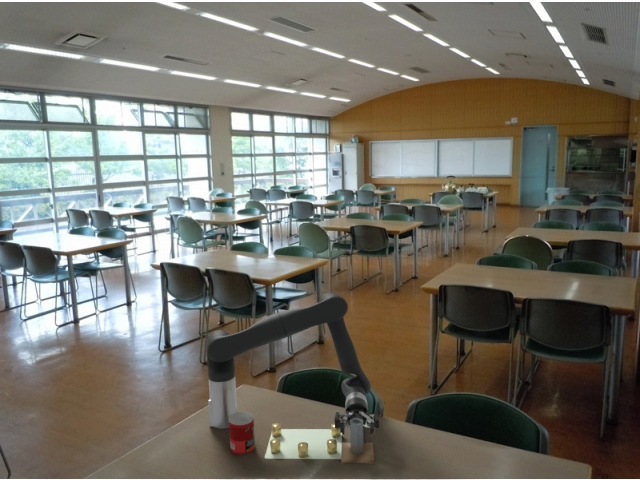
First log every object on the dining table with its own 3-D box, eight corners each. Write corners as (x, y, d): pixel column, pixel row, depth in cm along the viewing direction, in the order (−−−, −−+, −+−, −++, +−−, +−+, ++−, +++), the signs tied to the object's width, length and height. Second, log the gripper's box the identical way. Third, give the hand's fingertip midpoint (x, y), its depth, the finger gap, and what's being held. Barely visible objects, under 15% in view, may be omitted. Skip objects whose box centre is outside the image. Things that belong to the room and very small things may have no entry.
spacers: (265, 457, 165) (265, 447, 164) (272, 432, 180) (272, 423, 179) (340, 458, 163) (339, 447, 163) (340, 432, 178) (340, 423, 178)
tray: (341, 463, 161) (341, 460, 161) (341, 446, 171) (341, 442, 171) (374, 464, 160) (374, 460, 160) (372, 446, 170) (372, 442, 170)
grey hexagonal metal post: (350, 455, 163) (350, 424, 162) (350, 447, 168) (350, 417, 166) (363, 455, 163) (363, 424, 162) (363, 447, 168) (362, 417, 166)
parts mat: (264, 459, 164) (264, 458, 164) (272, 430, 182) (272, 429, 182) (341, 460, 163) (341, 458, 163) (342, 430, 181) (342, 429, 181)
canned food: (250, 456, 166) (249, 424, 165) (226, 454, 168) (224, 422, 166) (258, 443, 174) (256, 412, 172) (235, 441, 175) (233, 410, 174)
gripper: (335, 396, 178) (333, 420, 162) (377, 396, 177) (380, 420, 161) (335, 417, 179) (334, 443, 163) (377, 417, 179) (380, 443, 163)
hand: (357, 431), depth 162 cm, fingers open, 8 cm apart
